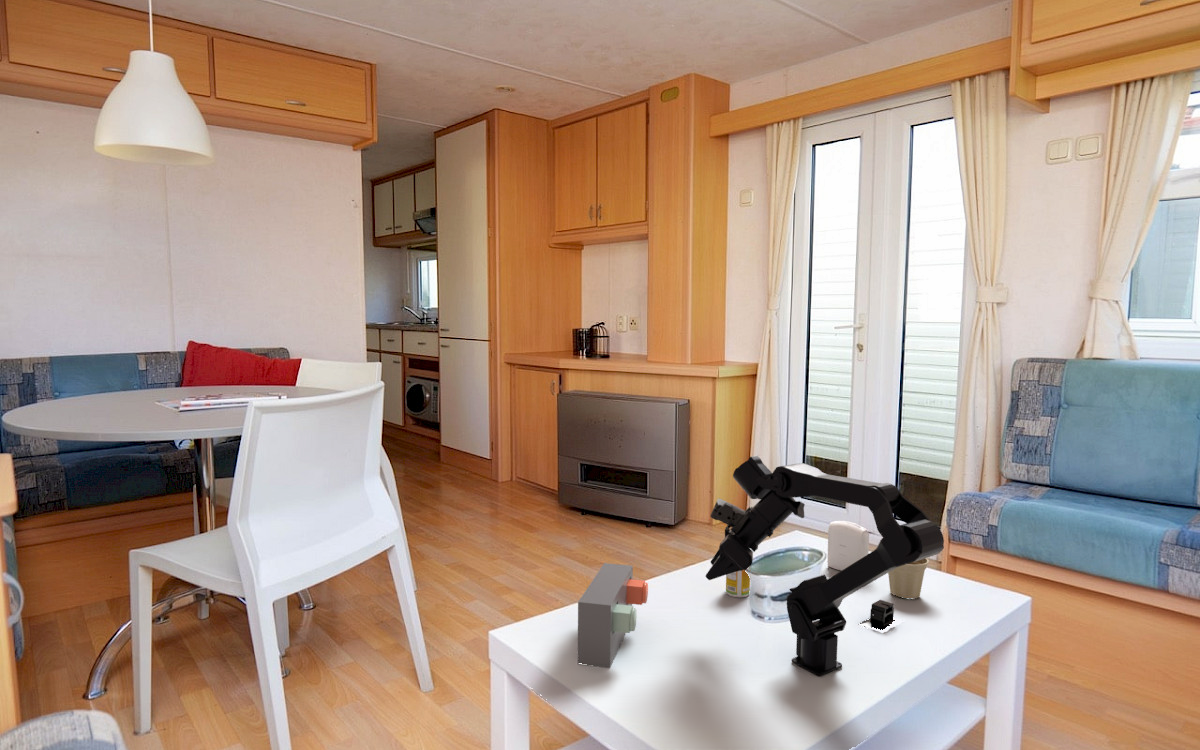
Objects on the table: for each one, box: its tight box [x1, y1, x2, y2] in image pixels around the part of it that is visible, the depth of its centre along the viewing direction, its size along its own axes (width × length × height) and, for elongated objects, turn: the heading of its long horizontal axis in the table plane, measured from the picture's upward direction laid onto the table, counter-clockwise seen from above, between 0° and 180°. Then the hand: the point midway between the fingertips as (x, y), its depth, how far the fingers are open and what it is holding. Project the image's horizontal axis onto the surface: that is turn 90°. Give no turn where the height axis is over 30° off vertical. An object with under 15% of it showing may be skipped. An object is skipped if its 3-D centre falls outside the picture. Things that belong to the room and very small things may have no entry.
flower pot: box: [887, 558, 930, 599], centre depth 160 cm, size 9×9×9 cm
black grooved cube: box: [857, 599, 895, 630], centre depth 145 cm, size 12×7×5 cm, turn 131°
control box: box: [577, 562, 634, 669], centre depth 135 cm, size 6×21×12 cm, turn 167°
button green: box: [613, 604, 638, 634], centre depth 128 cm, size 5×4×4 cm
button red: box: [626, 579, 649, 606], centre depth 140 cm, size 5×4×4 cm
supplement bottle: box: [725, 570, 751, 598], centre depth 159 cm, size 5×5×10 cm
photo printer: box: [827, 520, 870, 572], centre depth 175 cm, size 10×4×12 cm, turn 37°
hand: (709, 570), depth 137 cm, fingers open, 9 cm apart
